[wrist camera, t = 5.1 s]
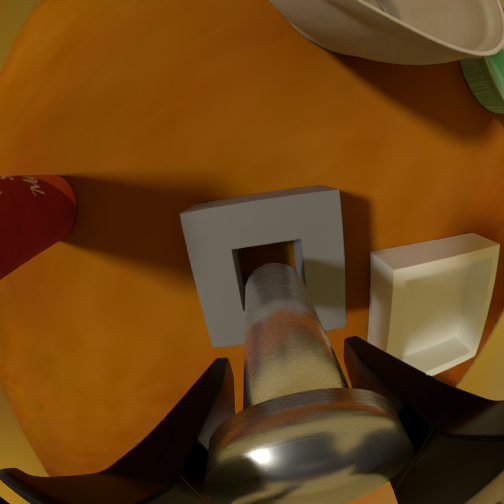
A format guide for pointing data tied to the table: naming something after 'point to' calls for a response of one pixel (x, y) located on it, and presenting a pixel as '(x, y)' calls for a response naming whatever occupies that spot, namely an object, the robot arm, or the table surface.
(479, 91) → the ramekin
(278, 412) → the pin
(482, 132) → the table surface
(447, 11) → the planter bowl
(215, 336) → the block
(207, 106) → the table surface
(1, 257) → the paper cup
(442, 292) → the tray
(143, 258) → the table surface
